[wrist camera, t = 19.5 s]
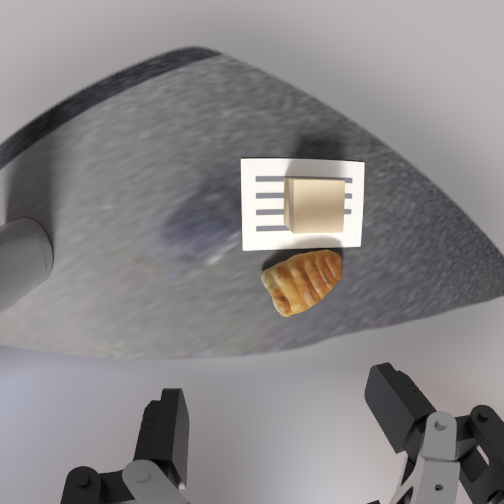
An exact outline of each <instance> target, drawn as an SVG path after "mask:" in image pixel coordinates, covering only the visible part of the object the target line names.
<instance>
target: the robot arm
mask: <svg viewBox="0 0 504 504" xmlns="http://www.w3.org/2000/svg"><path fill="white" fill-rule="evenodd" d="M52 265H53V253H52V247H51V243H50V241H49V238H48V236H47V234H46V233H45V231H44V229H43V228H42V227H41V226H40V225H39V224H38V223H37V222H36V221H34V220H32V219H30V218H21V219H18V220H15V221H12V222H9V223H6V224H3V225H1V226H0V315H1V314H2V313H3V312H5V311H6V310H7V309H8V308H10V307H11V306H12V305H13V304H14V303H16V302H17V301H18V300H20V299H21V298H22V297H23V296H25V295H26V294H27V293H29V292H30V291H31V290H33V289H34V288H35V287H36V286H38V285H39V284H40V283H42V282H43V281H44V280H46V279H47V277H48V276H49V274H50V272H51V269H52ZM365 400H366V403H367V404H368V406H369V408H370V410H371V411H372V413H373V415H374V416H375V418H376V420H377V421H378V423H379V425H380V427H381V428H382V430H383V432H384V434H385V435H386V437H387V439H388V440H389V442H390V444H391V446H392V447H393V449H394V451H395V453H396V454H397V453H400V452H402V451H406V452H407V455H406V458H405V461H404V465H403V469H402V472H401V476H400V479H399V483H398V486H397V489H396V492H395V494H394V496H393V497H392V499H391V501H390V503H389V504H455V501H456V495H457V488H458V481H459V480H460V482H461V483H462V485H463V487H464V489H465V491H466V492H467V494H468V496H469V498H470V500H471V501H472V503H473V504H504V422H503V421H502V420H501V419H500V417H499V416H498V415H497V414H496V412H495V411H494V410H493V409H492V408H491V407H489V406H486V405H478V406H476V407H474V408H473V409H472V411H471V413H470V415H466V416H461V417H453V416H452V415H451V414H449V413H447V412H444V411H436V409H435V408H434V407H433V406H432V404H431V403H430V402H429V401H428V399H427V398H426V397H425V396H424V395H423V393H422V392H421V391H419V388H418V387H417V386H416V385H414V382H413V381H412V380H411V379H410V377H409V376H408V375H406V374H404V373H403V372H401V371H396V370H395V369H394V368H393V367H392V365H391V364H390V363H383V364H379V365H375V366H372V367H371V369H370V373H369V377H368V381H367V384H366V388H365ZM188 436H189V415H188V411H187V406H186V403H185V399H184V395H183V391H182V389H181V388H180V389H166V388H165V389H163V390H162V395H161V400H160V401H156V400H155V401H154V400H152V401H151V402H150V403H149V404H148V406H147V407H146V408H145V410H144V414H143V421H142V423H141V429H140V431H139V436H138V440H137V445H136V450H135V455H134V459H133V461H132V462H131V463H129V464H128V465H127V466H126V467H125V468H124V469H123V470H120V471H117V472H109V473H100V474H98V473H97V472H96V471H95V470H94V469H92V468H90V467H85V466H81V467H77V468H74V469H73V470H71V471H70V472H69V474H68V476H67V478H66V482H65V486H64V490H63V495H62V499H61V503H60V504H190V503H189V502H188V501H187V500H186V499H185V497H183V495H182V494H181V493H180V492H179V491H178V489H186V477H187V457H188V438H189V437H188ZM478 445H480V447H481V448H482V450H483V451H484V453H485V454H486V456H487V457H488V459H489V466H488V465H487V463H486V461H485V460H484V458H483V457H482V456H481V454H480V453H479V451H478V450H477V447H478ZM368 504H380V502H379V500H377V501H374V502H371V503H368Z"/></svg>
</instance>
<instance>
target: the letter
mask: <svg viewBox="0 0 504 504" xmlns="http://www.w3.org/2000/svg"><path fill="white" fill-rule="evenodd" d="M284 178H329V179H336V180H343V181H345V204H344V226H343V233H300V234H293V233H292V232H291V231H290V230H289V228H288V227H287V226H286V225H285V224H284ZM241 189H242V235H243V251H245V250H274V249H302V248H332V247H360V244H361V231H362V215H363V193H364V162H352V161H337V160H317V159H268V158H266V159H241Z"/></svg>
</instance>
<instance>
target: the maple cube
mask: <svg viewBox="0 0 504 504" xmlns="http://www.w3.org/2000/svg"><path fill="white" fill-rule="evenodd" d="M344 204H345V181H343V180H336V179H329V178H284V224H285V225H286V226H287V227H288V228H289V230H290V231H291V232H292V233H293V234H300V233H343V226H344Z"/></svg>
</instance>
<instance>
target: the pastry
mask: <svg viewBox="0 0 504 504" xmlns="http://www.w3.org/2000/svg"><path fill="white" fill-rule="evenodd" d="M342 273H343V266H342V262H341V257H340V255H339V254H337V253H335V252H332V251H330V250H327V249H326V250H322V251H317V252H313V251H311V252H308V253H303V254H301V253H299V254H297V255H294V256H292V257H290V258H289V259H288V260H285V261H282V262H279V263H277V264H275V265H274V266H272V267H270V268H269V269H266V270H264V271H263V272H262V273H261V279H262V282H263V284H264V286H265V287H266V288H267V290H268V291H269V293H270V295H271V297H272V300H273V304H274V306H275V307H276V309H277V311H278V312H280V314H281V315H282V316H285V317H289V316H290V315H292V314H296V313H299V312H303V311H305V310H307V309H308V308H310V307H311V306H312V305H315V304H317V303H318V302H319V301H320V300H321V299H323V298H324V297H325V295H326V294H328V293H329V292H330V290H331V289H332V288H333V287H334V286H335V285H336V284H337V282H338V281H339V280H340V278H341V277H342Z"/></svg>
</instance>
